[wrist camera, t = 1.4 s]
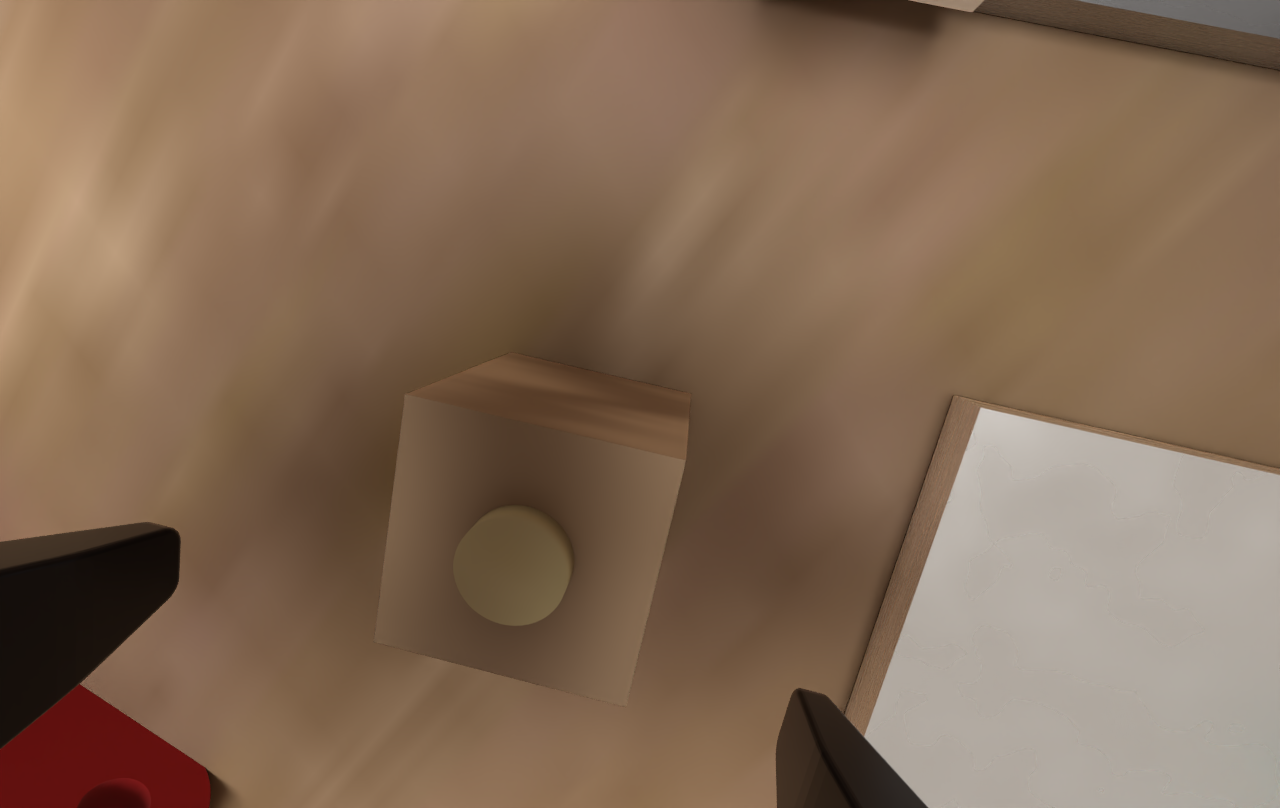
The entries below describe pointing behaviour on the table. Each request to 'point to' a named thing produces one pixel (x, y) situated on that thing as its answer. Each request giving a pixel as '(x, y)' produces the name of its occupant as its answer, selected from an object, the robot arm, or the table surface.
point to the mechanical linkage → (96, 762)
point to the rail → (1164, 23)
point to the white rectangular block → (954, 4)
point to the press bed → (1079, 623)
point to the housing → (532, 522)
